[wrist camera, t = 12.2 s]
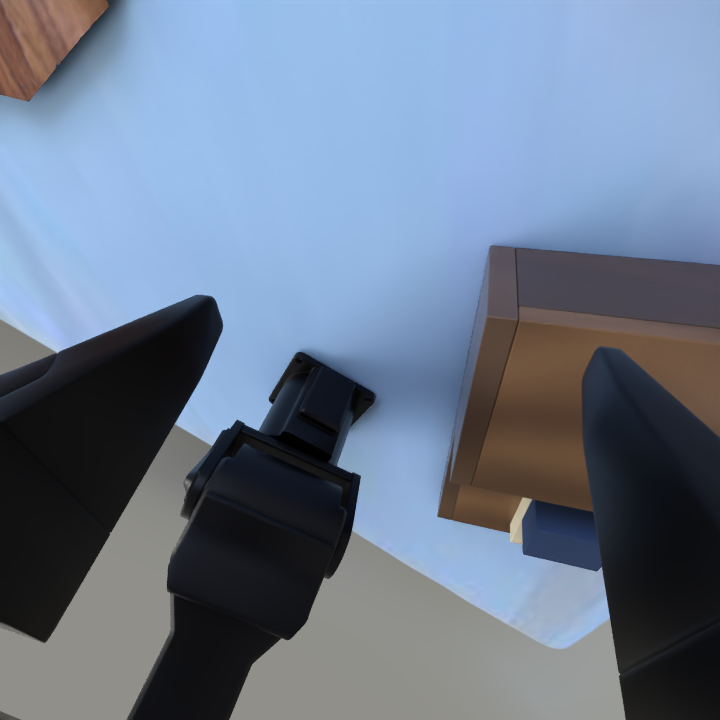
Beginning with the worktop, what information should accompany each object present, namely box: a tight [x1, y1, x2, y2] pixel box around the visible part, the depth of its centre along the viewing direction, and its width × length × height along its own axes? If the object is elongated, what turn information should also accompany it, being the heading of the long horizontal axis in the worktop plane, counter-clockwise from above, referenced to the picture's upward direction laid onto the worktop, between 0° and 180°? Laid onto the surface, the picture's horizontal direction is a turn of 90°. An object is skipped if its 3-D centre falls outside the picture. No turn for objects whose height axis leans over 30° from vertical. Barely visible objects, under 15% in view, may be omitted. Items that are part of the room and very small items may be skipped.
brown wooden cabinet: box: [437, 246, 720, 533], centre depth 24 cm, size 24×16×6 cm, turn 2°
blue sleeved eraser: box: [510, 498, 602, 571], centre depth 28 cm, size 9×5×4 cm, turn 2°
